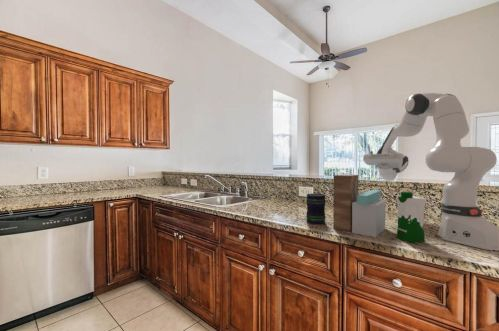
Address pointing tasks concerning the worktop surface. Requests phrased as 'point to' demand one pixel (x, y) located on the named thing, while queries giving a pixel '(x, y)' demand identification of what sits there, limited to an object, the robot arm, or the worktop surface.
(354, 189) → the brown tall block
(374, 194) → the teal tile
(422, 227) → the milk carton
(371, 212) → the grey step
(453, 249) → the worktop surface
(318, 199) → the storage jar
